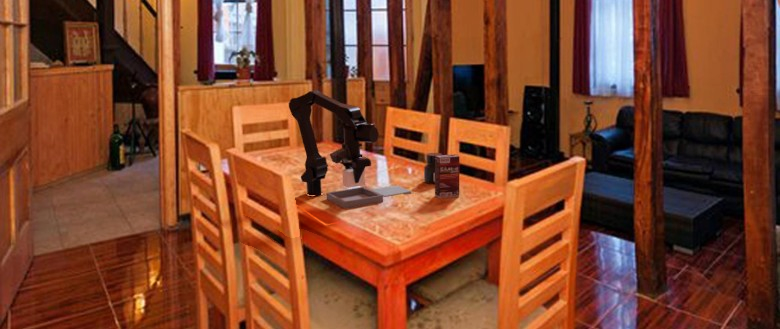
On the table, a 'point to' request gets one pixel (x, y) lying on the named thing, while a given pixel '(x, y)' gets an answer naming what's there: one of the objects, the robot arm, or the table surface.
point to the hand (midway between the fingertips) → (353, 181)
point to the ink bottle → (430, 168)
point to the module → (352, 179)
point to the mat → (391, 190)
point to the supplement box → (447, 176)
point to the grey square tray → (354, 197)
